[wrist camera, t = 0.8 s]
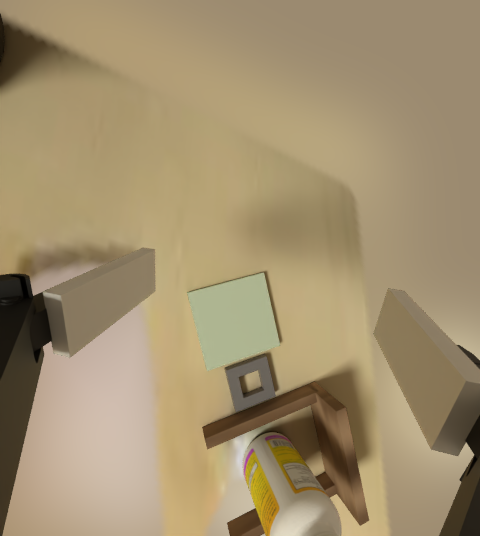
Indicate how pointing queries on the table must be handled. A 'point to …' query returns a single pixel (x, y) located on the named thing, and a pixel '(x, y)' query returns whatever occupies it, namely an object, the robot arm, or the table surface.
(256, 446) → the supplement bottle
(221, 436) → the cubby
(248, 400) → the hole frame
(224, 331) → the mat
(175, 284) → the table surface
